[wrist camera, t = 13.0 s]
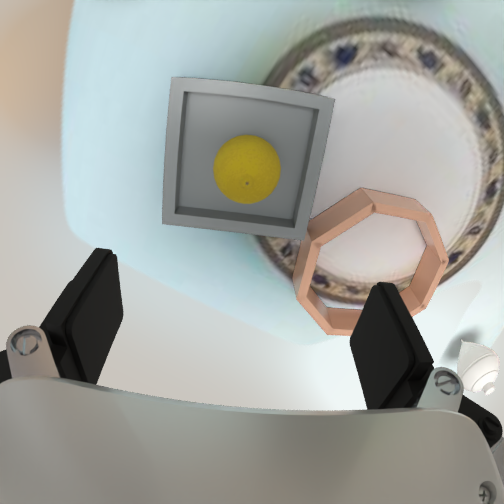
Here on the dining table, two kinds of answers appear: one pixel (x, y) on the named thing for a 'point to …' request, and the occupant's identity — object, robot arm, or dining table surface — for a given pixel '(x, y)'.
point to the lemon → (246, 169)
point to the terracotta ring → (343, 219)
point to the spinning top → (477, 367)
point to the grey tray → (232, 125)
